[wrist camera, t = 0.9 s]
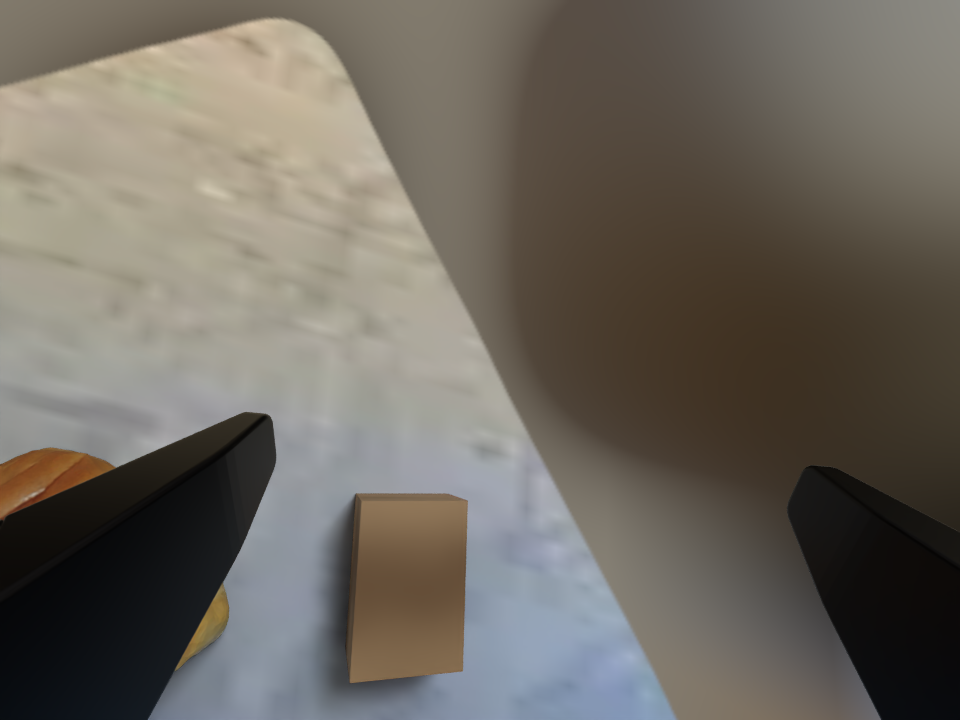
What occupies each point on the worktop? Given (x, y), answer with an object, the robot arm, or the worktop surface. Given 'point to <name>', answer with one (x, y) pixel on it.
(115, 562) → the robot arm
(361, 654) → the cardboard brown box
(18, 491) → the pastry
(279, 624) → the worktop surface
